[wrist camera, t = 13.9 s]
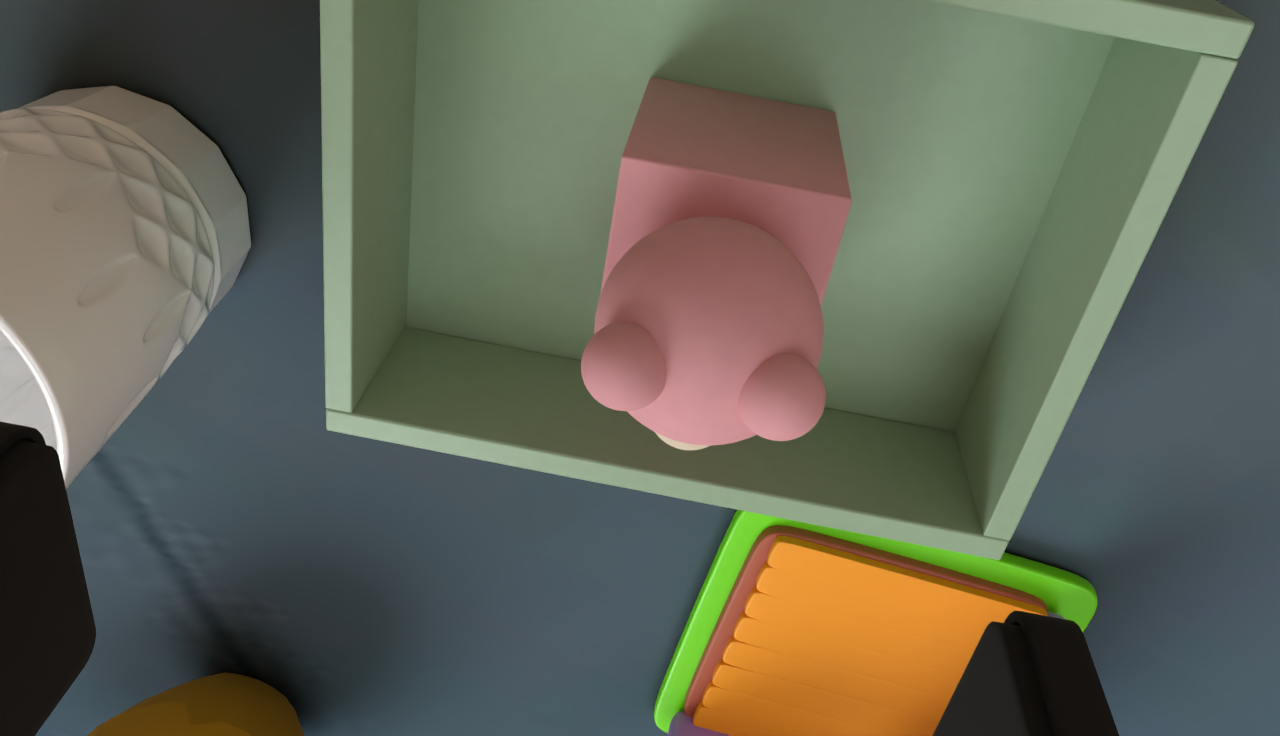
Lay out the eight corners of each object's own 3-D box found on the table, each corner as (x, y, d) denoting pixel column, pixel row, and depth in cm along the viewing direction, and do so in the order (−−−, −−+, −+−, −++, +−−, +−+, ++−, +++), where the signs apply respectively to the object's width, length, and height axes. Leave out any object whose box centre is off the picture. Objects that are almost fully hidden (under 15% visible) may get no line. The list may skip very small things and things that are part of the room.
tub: (402, -174, 23) (316, -156, 18) (1164, -31, 22) (1258, 22, 18) (389, 331, 30) (324, 431, 25) (967, 443, 30) (1000, 562, 25)
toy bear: (649, 76, 24) (587, 250, 16) (836, 111, 24) (873, 305, 16) (618, 272, 27) (550, 508, 19) (784, 304, 27) (792, 555, 19)
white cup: (127, 2, 25) (-193, 129, 17) (330, 250, 29) (146, 462, 20) (-57, 153, 28) (-410, 326, 20) (146, 363, 31) (-84, 591, 23)
